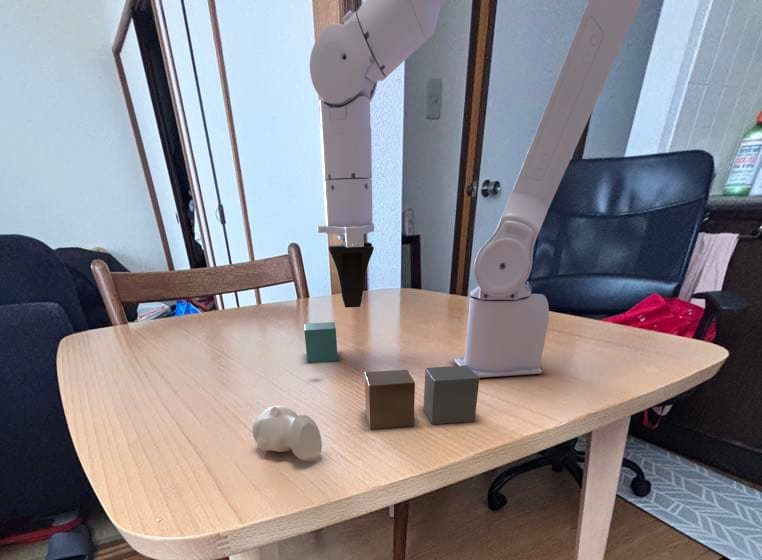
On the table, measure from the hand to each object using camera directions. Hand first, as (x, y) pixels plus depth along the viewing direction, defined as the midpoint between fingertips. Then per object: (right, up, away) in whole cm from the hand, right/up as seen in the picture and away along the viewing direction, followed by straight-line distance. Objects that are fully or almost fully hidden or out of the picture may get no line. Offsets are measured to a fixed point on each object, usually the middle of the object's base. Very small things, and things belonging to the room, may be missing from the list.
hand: (352, 306), depth 63 cm
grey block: (+10, -18, -13) cm, 25 cm away
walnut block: (+4, -19, -14) cm, 24 cm away
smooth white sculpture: (-6, -24, -19) cm, 31 cm away
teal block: (-5, -4, +8) cm, 10 cm away
